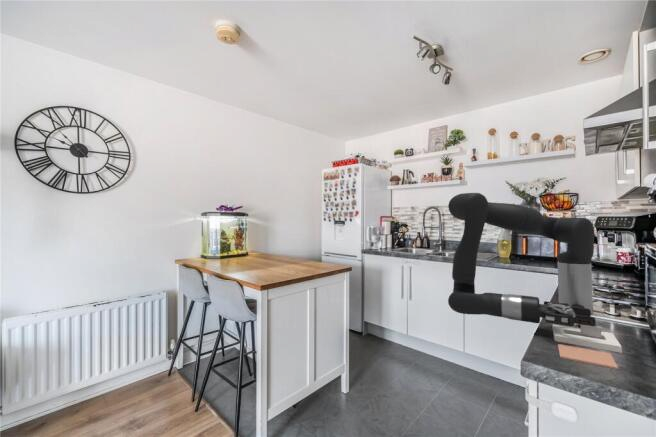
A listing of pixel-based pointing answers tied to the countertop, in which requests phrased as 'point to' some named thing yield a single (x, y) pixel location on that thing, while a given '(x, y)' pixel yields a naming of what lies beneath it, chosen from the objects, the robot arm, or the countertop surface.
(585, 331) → the lighter
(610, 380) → the countertop surface
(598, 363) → the mat
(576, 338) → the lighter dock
